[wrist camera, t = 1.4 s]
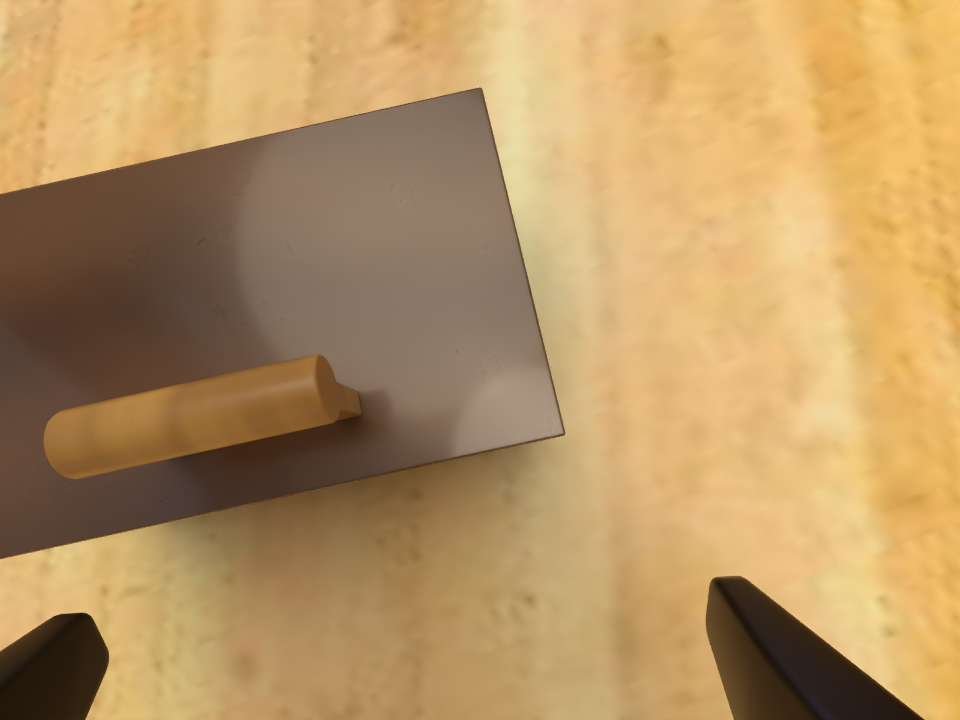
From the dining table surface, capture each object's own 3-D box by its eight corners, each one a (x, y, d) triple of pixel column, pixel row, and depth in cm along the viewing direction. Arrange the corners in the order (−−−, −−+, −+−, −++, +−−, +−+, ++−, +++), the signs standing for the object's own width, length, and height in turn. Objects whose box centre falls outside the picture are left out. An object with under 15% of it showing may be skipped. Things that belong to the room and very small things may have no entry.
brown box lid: (562, 436, 15) (589, 428, 10) (12, 556, 15) (-204, 602, 10) (482, 103, 17) (475, -30, 12) (-10, 212, 17) (-203, 122, 12)
